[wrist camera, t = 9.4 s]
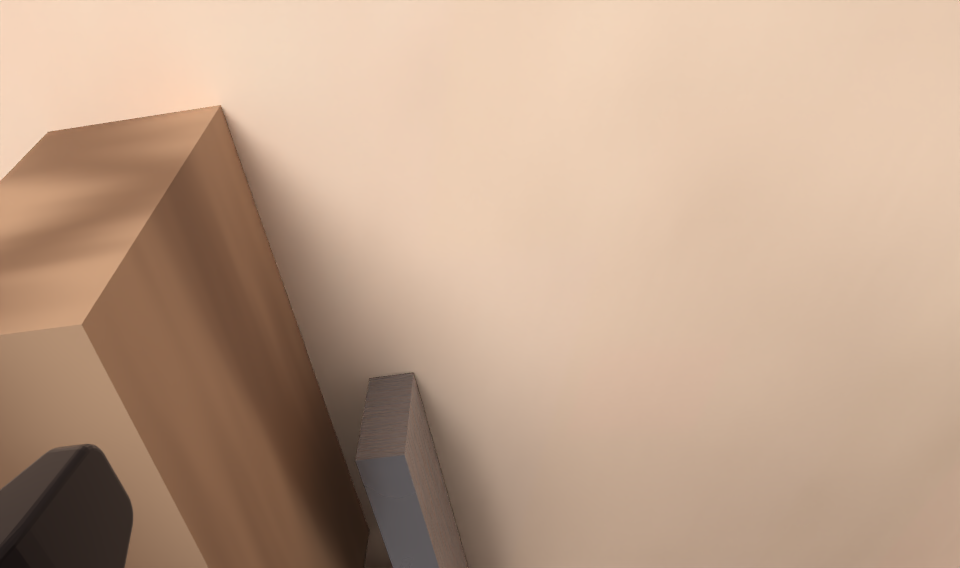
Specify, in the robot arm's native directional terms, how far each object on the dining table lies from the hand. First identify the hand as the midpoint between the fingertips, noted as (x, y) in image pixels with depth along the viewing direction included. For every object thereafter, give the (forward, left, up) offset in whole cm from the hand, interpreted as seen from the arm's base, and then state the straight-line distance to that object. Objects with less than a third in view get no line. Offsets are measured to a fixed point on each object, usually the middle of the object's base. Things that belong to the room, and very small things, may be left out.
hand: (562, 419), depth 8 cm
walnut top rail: (+9, +8, -12) cm, 17 cm away
